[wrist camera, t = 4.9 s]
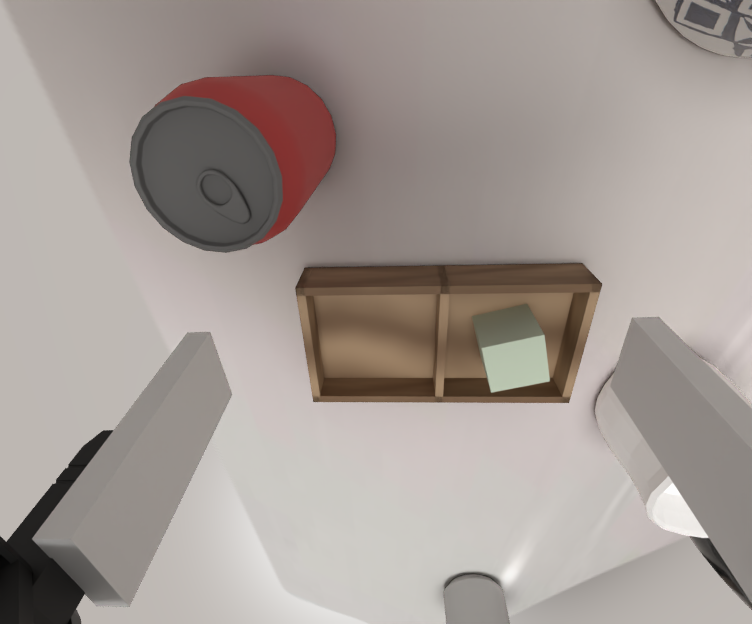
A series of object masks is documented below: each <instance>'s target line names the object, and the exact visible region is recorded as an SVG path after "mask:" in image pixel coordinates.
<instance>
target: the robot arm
mask: <svg viewBox="0 0 752 624" xmlns="http://www.w3.org/2000/svg"><path fill="white" fill-rule="evenodd" d="M610 387H611V388H612V390H613V392H614V393H615V395H616V396H617V398H618V399H619V401H620V402H621V404H622V405H623V407H624V408H625V410H626V411H627V413H628V415H629V416H630V418H631V419H632V421H633V422H634V424H635V425H636V427H637V428H638V430H639V431H640V433H641V434H642V436H643V438H644V439H645V441H646V442H647V444H648V445H649V447H650V448H651V450H652V451H653V453H654V454H655V456H656V457H657V459H658V461H659V462H660V464H661V465H662V467H663V468H664V470H665V471H666V473H667V474H668V476H669V477H670V479H671V480H672V482H673V484H674V485H675V487H676V488H677V490H678V491H679V493H680V494H681V496H682V497H683V499H684V500H685V502H686V503H687V505H688V507H689V508H690V510H691V511H692V513H693V514H694V516H695V517H696V519H697V520H698V522H699V523H700V525H701V526H702V528H703V529H704V531H705V533H706V534H707V536H708V537H709V539H710V540H711V542H712V543H713V545H714V546H715V548H716V549H717V551H718V552H719V554H720V556H721V557H722V559H723V560H724V562H725V563H726V565H727V566H728V568H729V569H730V571H731V572H732V574H733V575H734V577H735V579H736V580H737V582H738V583H739V585H740V586H741V588H742V589H743V591H744V592H745V594H746V595H747V597H748V598H749V600H750V602H751V603H752V408H751V407H750V406H749V405H748V404H747V403H745V402H744V401H743V400H742V399H741V398H740V397H739V396H738V395H737V394H736V393H735V392H734V391H733V390H732V389H731V388H730V387H729V386H728V385H727V384H726V383H725V382H724V381H723V380H722V379H721V378H720V377H719V376H718V375H717V374H716V373H715V372H714V371H713V370H712V369H711V368H710V367H709V366H708V365H707V364H706V363H705V362H704V361H703V360H702V359H701V358H700V357H699V356H698V355H697V354H696V353H695V352H694V351H693V350H692V349H691V348H690V347H689V346H688V345H687V344H686V343H685V342H684V341H683V340H682V339H681V338H680V337H679V336H678V335H677V334H676V333H675V332H674V331H672V330H671V329H670V328H669V327H668V326H667V325H666V324H665V323H664V322H663V321H662V320H661V319H660V318H659V317H641V318H632V320H631V323H630V326H629V329H628V332H627V335H626V338H625V341H624V344H623V347H622V350H621V354H620V357H619V360H618V363H617V366H616V369H615V372H614V375H613V378H612V381H611V385H610ZM231 396H232V393H231V390H230V387H229V384H228V381H227V378H226V375H225V373H224V370H223V367H222V364H221V361H220V358H219V356H218V353H217V350H216V347H215V344H214V341H213V339H212V336H211V333H210V332H194V333H187V334H186V335H185V337H184V338H183V339H182V341H181V342H180V343H179V345H178V346H177V347H176V349H175V350H174V351H173V352H172V354H171V355H170V356H169V358H168V359H167V360H166V362H165V363H164V364H163V366H162V367H161V368H160V370H159V371H158V372H157V374H156V375H155V376H154V378H153V379H152V380H151V382H150V383H149V384H148V386H147V387H146V388H145V390H144V391H143V392H142V394H141V395H140V396H139V398H138V399H137V400H136V401H135V403H134V404H133V405H132V407H131V408H130V409H129V411H128V412H127V413H126V415H125V416H124V418H123V419H122V420H121V421H120V423H119V424H118V425H117V427H116V428H115V429H114V430H109V431H108V430H107V431H102V432H101V433H99V434H98V435H97V436H96V437H95V438H93V439H92V440H91V441H89V442H88V443H87V444H85V445H84V446H83V447H82V448H81V450H80V451H79V452H78V453H77V455H76V456H75V457H74V459H73V460H72V461H71V462H70V463H69V466H68V468H65V470H64V471H63V472H62V473H61V474H60V476H59V477H58V478H57V480H56V483H55V484H52V486H51V487H50V488H49V489H48V491H47V492H46V493H45V495H44V496H43V497H42V498H41V499H40V501H39V502H38V503H37V505H36V506H35V507H34V508H33V509H32V511H31V512H30V513H29V514H28V516H27V517H26V518H25V519H24V521H23V522H22V523H21V524H20V526H19V527H18V528H17V530H16V531H15V532H14V533H13V534H12V536H11V537H10V538H9V539H8V541H7V542H6V541H5V540H3V538H2V537H0V624H81V619H80V616H79V614H78V612H77V610H76V608H77V606H78V604H79V603H80V601H81V599H82V597H83V596H84V594H85V595H86V596H87V597H88V598H89V599H90V600H91V601H92V602H93V603H94V604H95V605H96V606H115V607H129V606H130V604H131V602H132V600H133V598H134V596H135V594H136V592H137V590H138V588H139V586H140V584H141V582H142V580H143V578H144V576H145V573H146V571H147V569H148V567H149V565H150V563H151V561H152V559H153V557H154V555H155V553H156V551H157V549H158V547H159V544H160V542H161V540H162V538H163V536H164V534H165V532H166V530H167V528H168V526H169V524H170V522H171V519H172V518H173V516H174V514H175V512H176V509H177V507H178V505H179V503H180V501H181V499H182V497H183V495H184V493H185V491H186V489H187V487H188V485H189V483H190V481H191V478H192V476H193V474H194V472H195V470H196V468H197V466H198V464H199V462H200V460H201V458H202V456H203V454H204V452H205V450H206V448H207V445H208V443H209V441H210V439H211V437H212V435H213V433H214V431H215V429H216V427H217V425H218V423H219V421H220V419H221V417H222V414H223V412H224V410H225V408H226V406H227V404H228V402H229V400H230V398H231Z"/></svg>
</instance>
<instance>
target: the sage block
mask: <svg viewBox="0 0 752 624" xmlns="http://www.w3.org/2000/svg"><path fill="white" fill-rule="evenodd" d="M472 319H473V324H474V328H475V333H476V338H477V342H478V347H479V351H480V356H481V360H482V363H483V367H484V370H485V373H486V377H487V380H488V384H489V387H490V391H491V393H492V392H497V391H502V390H508V389H513V388H518V387H523V386H528V385H534V384H539V383H544V382H549V381H550V377H549V369H548V360H547V352H546V343H545V335H544V333H543V331H542V329H541V328H540V326H539V324H538V322H537V320H536V319H535V317H534V315H533V313H532V311H531V310H530V308H529V306H528V304H523V305H519V306H514V307H510V308H506V309H501V310H497V311H493V312H488V313H484V314H480V315H475V316H472Z"/></svg>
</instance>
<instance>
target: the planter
mask: <svg viewBox="0 0 752 624" xmlns="http://www.w3.org/2000/svg"><path fill="white" fill-rule="evenodd" d="M655 1H656V2H657V4H658V6H659V7H660V9H661V10H662V12H663V14H664V15H665V17H666V18H667V20H668V21H669V22H670V23H671V24H672V25H673V26H674V27H675V28H676V29H677V30H678V31H679V32H680V33H681V34H682V35H683V36H684V37H685V38H687V39H688V40H690V41H692V42H693V43H695V44H696V45H698V46H699V47H701V48H703V49H706V50H709V51H712V52H715V53H717V54H720V55H724V56H732V57H740V58H752V0H655Z"/></svg>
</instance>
